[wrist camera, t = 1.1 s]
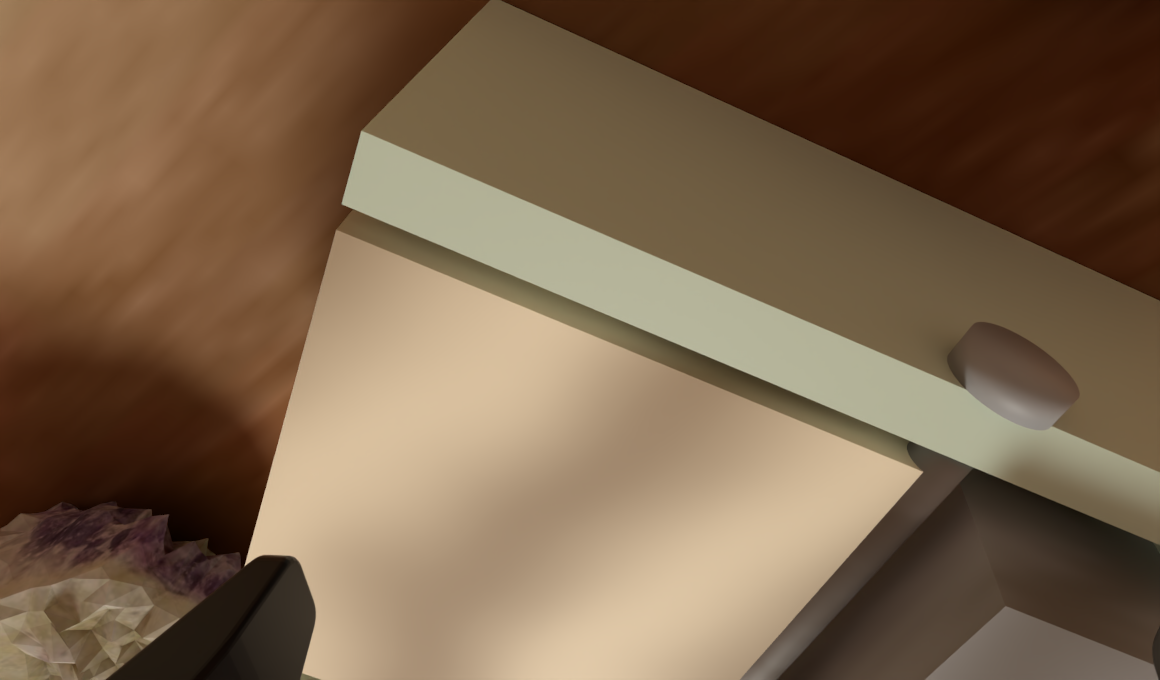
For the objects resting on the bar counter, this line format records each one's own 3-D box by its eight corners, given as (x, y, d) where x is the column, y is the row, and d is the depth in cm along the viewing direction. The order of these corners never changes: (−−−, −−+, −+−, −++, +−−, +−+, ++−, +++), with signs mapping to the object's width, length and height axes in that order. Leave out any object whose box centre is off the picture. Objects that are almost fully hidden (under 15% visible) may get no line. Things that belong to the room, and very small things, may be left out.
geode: (394, 494, 35) (8, 335, 30) (407, 647, 27) (-132, 464, 21) (209, 794, 38) (-175, 702, 33) (167, 1018, 30) (-361, 945, 24)
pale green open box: (1184, 284, 21) (1473, 580, 13) (840, 643, 29) (891, 954, 22) (502, -30, 19) (362, 100, 11) (341, 452, 27) (196, 720, 19)
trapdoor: (1164, 474, 16) (1297, 670, 13) (834, 770, 23) (861, 958, 19) (395, 145, 15) (293, 264, 11) (269, 566, 21) (178, 730, 17)
